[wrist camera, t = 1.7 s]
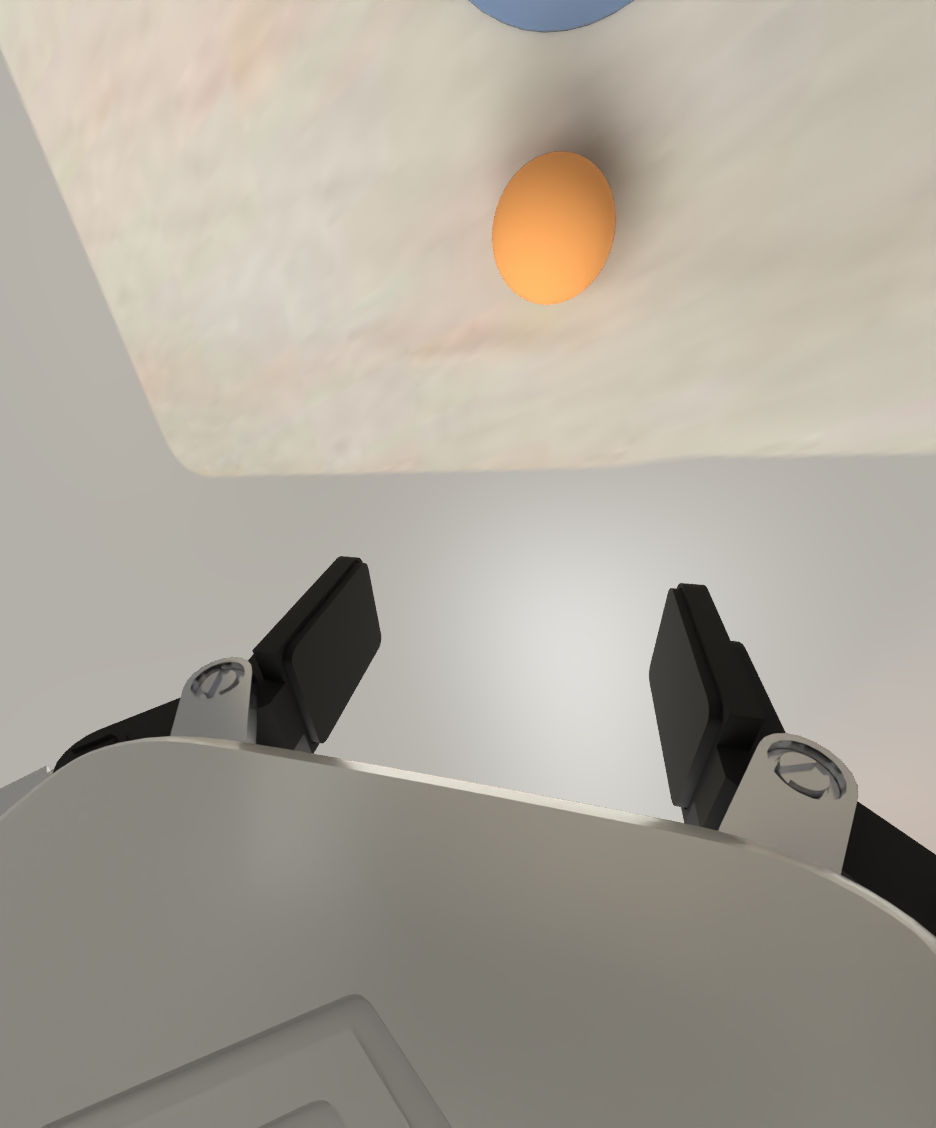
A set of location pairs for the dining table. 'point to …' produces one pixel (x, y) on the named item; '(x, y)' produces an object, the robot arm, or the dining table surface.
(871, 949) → the robot arm
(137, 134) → the dining table surface
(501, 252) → the ball
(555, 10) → the disc
